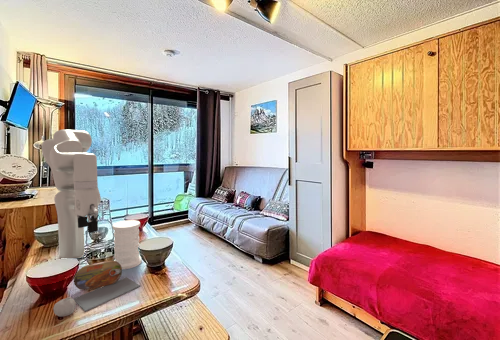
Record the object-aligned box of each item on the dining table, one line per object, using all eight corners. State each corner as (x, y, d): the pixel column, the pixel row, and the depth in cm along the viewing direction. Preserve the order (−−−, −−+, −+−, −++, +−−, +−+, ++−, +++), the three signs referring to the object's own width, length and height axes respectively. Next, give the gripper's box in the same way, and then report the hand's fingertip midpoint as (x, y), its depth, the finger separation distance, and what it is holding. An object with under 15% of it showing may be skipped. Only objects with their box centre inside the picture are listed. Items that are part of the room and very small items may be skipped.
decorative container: (142, 256, 116) (141, 219, 115) (141, 267, 105) (140, 226, 104) (114, 259, 112) (113, 221, 110) (110, 271, 101) (109, 229, 100)
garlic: (81, 308, 78) (80, 292, 77) (69, 320, 72) (68, 303, 72) (62, 308, 77) (61, 292, 77) (48, 320, 72) (47, 303, 72)
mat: (73, 299, 82) (73, 298, 82) (126, 277, 96) (126, 276, 96) (85, 311, 76) (85, 310, 76) (140, 286, 90) (140, 285, 90)
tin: (74, 293, 85) (72, 269, 85) (75, 289, 88) (74, 266, 88) (122, 282, 92) (121, 260, 92) (122, 278, 95) (121, 257, 95)
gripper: (66, 184, 95) (68, 227, 96) (83, 188, 85) (85, 236, 86) (88, 182, 101) (89, 223, 102) (106, 186, 91) (108, 231, 92)
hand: (87, 229), depth 94 cm, fingers open, 9 cm apart
